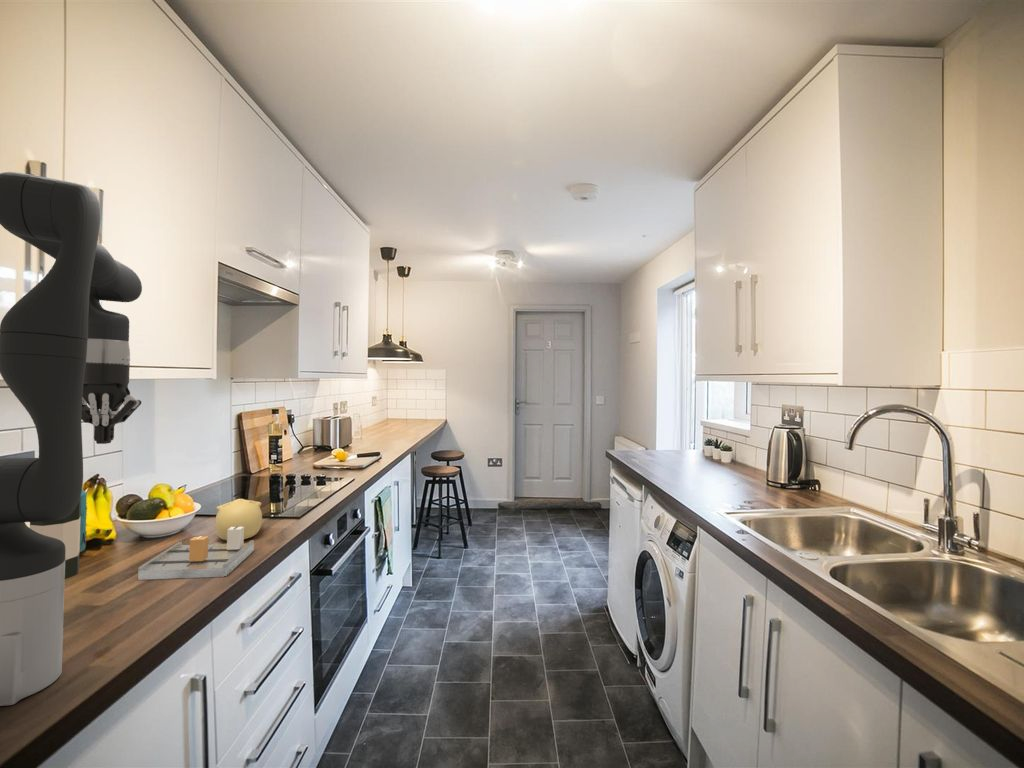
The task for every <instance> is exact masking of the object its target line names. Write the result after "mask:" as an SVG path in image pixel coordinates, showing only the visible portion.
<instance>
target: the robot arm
mask: <svg viewBox="0 0 1024 768" xmlns="http://www.w3.org/2000/svg"><path fill="white" fill-rule="evenodd" d="M100 207H101V206H100V201H99V199H98V195H97V194H96V192H95V191H94V190H93V189H92V188H91V187H89V186H87V185H84V184H81V183H77V182H72V181H67V180H60V179H55V178H49V177H47V176H46V177H45V176H40V175H34V174H28V173H22V172H17V171H16V172H15V171H14V172H13V171H8V172H7V171H6V172H0V226H2V228H3V229H4V230H6V231H7V232H8V233H10V234H12V235H14V236H15V237H17V238H18V239H21V240H23V241H24V242H26V243H28V244H30V245H31V246H33V247H35V248H37V249H38V250H39V251H42V252H43V253H45V254H46V255H48V256H50V257H51V258H53V259H54V260H55V261H54V264H53V265H52V266H51V268H50V269H49V271H48V272H47V274H46V275H45V276H44V277H43V278H42V279H41V280H40V281H39V282H38V283H37V284H36V285H34V287H32V288H31V289H30V290H29V291H28V292H26V293H25V295H23V296H22V297H21V298H20V299H19V300H18V301H17V302H16V303H15V304H14V305H12V307H10V308H9V310H8V311H7V312H6V313H5V315H4V316H3V318H2V319H1V321H0V377H2V379H3V381H4V382H5V384H6V385H7V387H8V388H9V389H10V391H11V392H12V393H13V394H14V396H15V398H17V400H18V401H19V403H21V405H22V406H23V408H24V409H25V411H26V412H27V414H29V416H30V418H31V419H32V422H33V424H34V426H35V429H36V434H37V441H38V442H37V443H38V457H9V458H6V457H5V458H0V707H3V706H5V707H6V706H13V705H15V704H17V703H18V702H19V701H21V700H22V699H24V698H27V697H29V696H31V695H34V694H36V693H38V692H40V691H42V690H44V689H45V688H47V687H48V686H50V685H52V684H53V683H54V682H55V681H57V680H58V678H60V676H61V675H62V671H63V670H62V669H63V648H64V647H63V644H64V643H63V640H64V639H63V638H64V609H65V608H64V607H65V605H64V604H65V580H66V579H65V553H66V549H65V544H64V543H63V542H62V541H61V540H59V539H56V538H52V537H48V536H45V535H42V534H39V533H37V532H35V531H33V530H32V529H30V526H28V525H27V524H26V523H30V522H42V521H55V520H61V519H64V518H66V517H67V516H69V515H70V514H71V513H72V512H73V511H74V510H75V508H76V506H77V504H78V502H79V500H80V497H81V493H82V490H83V483H84V456H83V454H84V452H83V451H84V450H83V434H82V433H83V432H82V431H83V430H82V428H83V427H82V422H84V423H87V424H91V425H92V426H93V430H94V431H93V440H94V441H95V443H96V444H97V445H104V444H105V445H106V444H111V442H112V441H113V440H114V439H115V425H116V424H117V425H118V424H120V423H121V424H122V423H124V422H126V421H127V420H128V418H130V416H132V414H133V413H134V412H135V411H136V410H137V409H138V408H139V407H140V406H141V405H142V401H141V400H140V399H136V398H135V397H133V396H131V391H130V389H129V384H130V366H131V365H130V364H131V363H130V362H131V352H130V351H131V350H130V319H129V317H128V316H127V315H125V314H123V313H121V312H120V313H119V312H115V311H111V310H107V309H104V307H102V305H101V303H100V301H107V302H118V303H131V302H134V301H137V300H138V299H139V297H141V295H142V291H143V286H142V282H141V279H140V277H139V276H138V274H137V273H136V272H135V271H134V270H133V269H131V267H128V266H127V265H125V264H123V263H121V262H120V261H118V260H116V259H114V257H113V255H112V254H111V253H110V252H109V250H108V249H107V248H106V247H104V246H103V245H102V244H101V242H98V240H99V235H100V227H101V208H100ZM122 405H123V406H122ZM121 406H122V407H121ZM120 408H121V409H120Z"/></svg>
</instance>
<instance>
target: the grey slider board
mask: <svg viewBox="0 0 1024 768" xmlns="http://www.w3.org/2000/svg"><path fill="white" fill-rule="evenodd" d="M189 548H190V544H183V541H178V542H176V543H175V544H173V545H172V546H170V547H168V548H166V549H165V550H164V551H162V552H161V553H159V554H158V555H156V556H154V557H152V558H151V559H150V560H148V561H146V562H144V563H142V565H140V566H138V573H137V574H138V575H137V578H138V579H137V580H138V581H140V580H141V581H142V580H145V581H146V580H147V581H148V580H171V579H173V580H174V579H197V578H198V579H199V578H224V576H226V577H227V575H228V576H229V575H230V574H231V573H232V572H233V571H234V570H235V569H237V567H238V566H239V565H240V564H242V562H243V561H244V560H247V558H248V557H249V556H250V555H251V554H252V553H254V550H255V540H254V539H252V540H249V541H248V542H247V543H244V544H243V547H242V548H241V549H230V550H227V543H212V544H210V543H208V558H206V559H205V560H204V561H189Z"/></svg>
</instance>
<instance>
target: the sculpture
mask: <svg viewBox="0 0 1024 768" xmlns="http://www.w3.org/2000/svg"><path fill="white" fill-rule="evenodd" d="M261 506H262V502H260V501H255V500H251V499H250V500H249V499H244V498H237V499H234V500H232V501H229V502H226V503H224V504H221V505H218V506H216V510H217V514H216V516H215V520H214V524H215V531H216V534H217V536H218V538H220V539H221V540H224V541H227V530H228V529H229V528H230V527H236V526H238V527H244V540H246V539H250V538H252V537H254V536H255V535H257V534H258V532H259V531H260V529H261V527H262V523H263V512H262V510H261Z"/></svg>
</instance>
